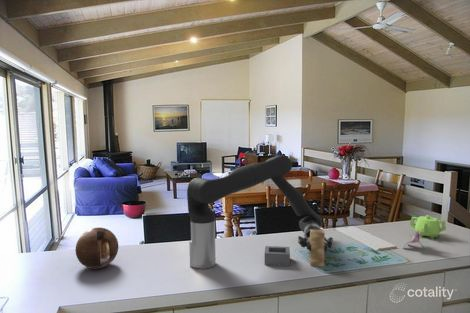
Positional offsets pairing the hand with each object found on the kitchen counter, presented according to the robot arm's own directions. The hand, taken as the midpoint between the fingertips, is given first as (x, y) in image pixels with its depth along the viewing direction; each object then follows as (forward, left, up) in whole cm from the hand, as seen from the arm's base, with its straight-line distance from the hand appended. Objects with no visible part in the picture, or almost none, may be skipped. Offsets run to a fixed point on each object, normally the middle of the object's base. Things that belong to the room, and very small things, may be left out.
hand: (317, 248), depth 133 cm
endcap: (-15, +4, -7) cm, 17 cm away
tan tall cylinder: (0, +3, -7) cm, 7 cm away
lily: (+43, +25, -7) cm, 50 cm away
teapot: (+55, +43, -7) cm, 70 cm away
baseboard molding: (+24, +36, -8) cm, 44 cm away
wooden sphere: (-82, -9, -7) cm, 83 cm away
